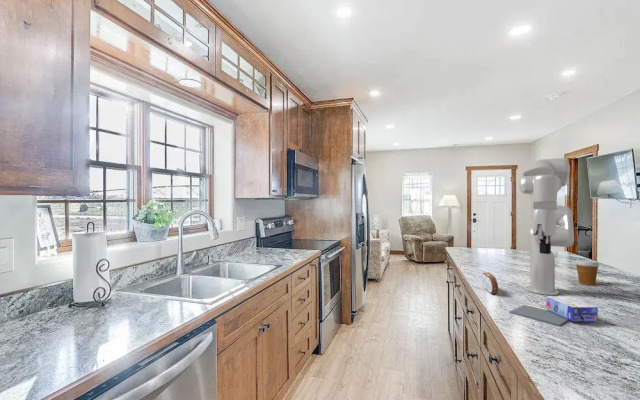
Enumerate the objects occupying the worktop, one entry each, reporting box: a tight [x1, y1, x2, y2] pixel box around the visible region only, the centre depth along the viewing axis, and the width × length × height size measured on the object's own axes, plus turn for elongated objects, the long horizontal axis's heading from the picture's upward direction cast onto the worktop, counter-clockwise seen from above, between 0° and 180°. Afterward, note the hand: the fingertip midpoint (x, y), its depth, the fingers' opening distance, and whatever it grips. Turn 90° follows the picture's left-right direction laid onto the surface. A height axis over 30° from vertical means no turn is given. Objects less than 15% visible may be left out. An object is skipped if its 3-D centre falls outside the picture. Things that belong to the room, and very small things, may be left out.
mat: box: [509, 304, 570, 327], centre depth 117 cm, size 14×16×1 cm
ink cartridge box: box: [545, 296, 599, 322], centre depth 114 cm, size 10×6×14 cm
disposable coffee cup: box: [575, 259, 600, 286], centre depth 161 cm, size 10×10×12 cm
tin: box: [481, 271, 499, 295], centre depth 149 cm, size 15×3×8 cm, turn 168°
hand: (545, 253), depth 120 cm, fingers closed
